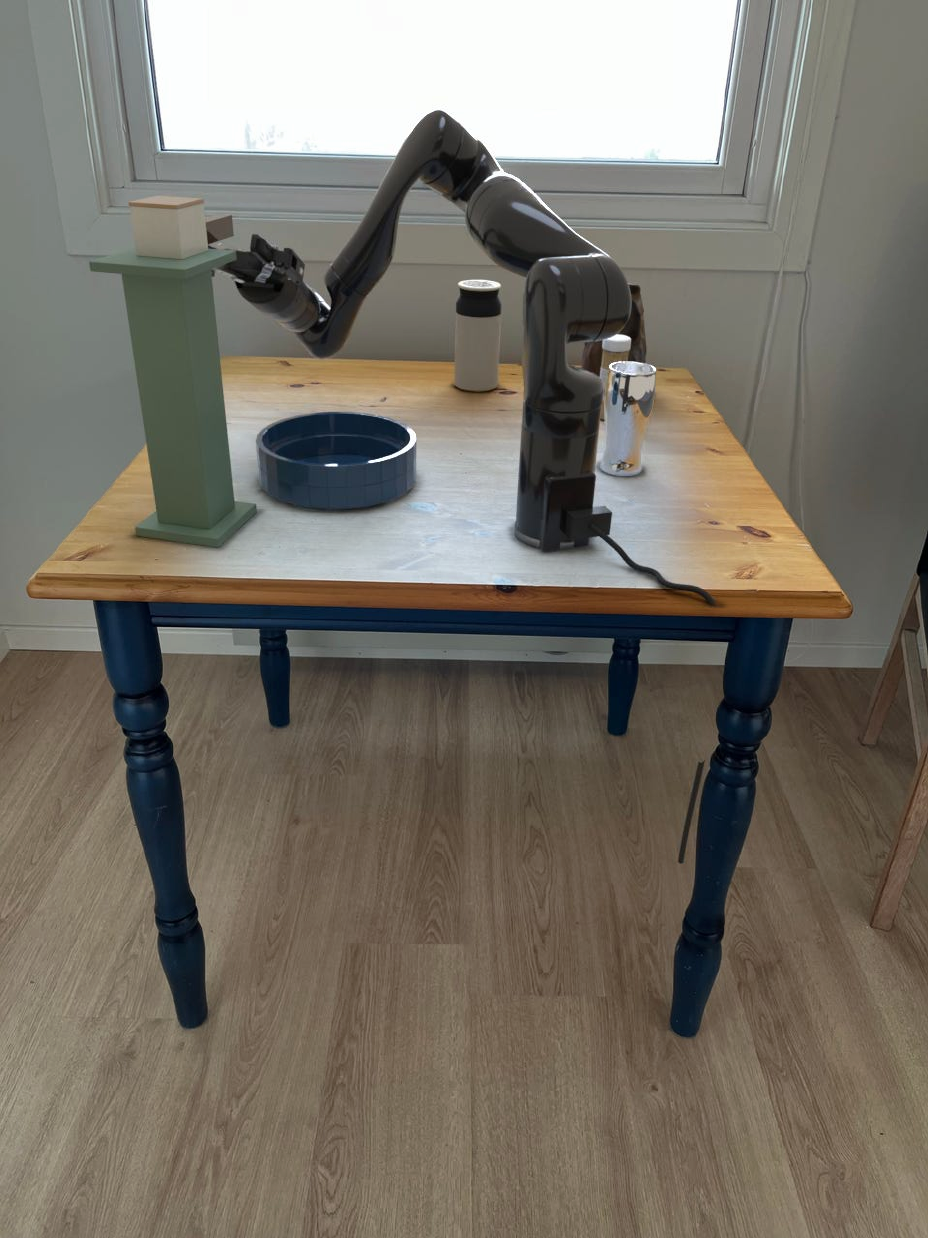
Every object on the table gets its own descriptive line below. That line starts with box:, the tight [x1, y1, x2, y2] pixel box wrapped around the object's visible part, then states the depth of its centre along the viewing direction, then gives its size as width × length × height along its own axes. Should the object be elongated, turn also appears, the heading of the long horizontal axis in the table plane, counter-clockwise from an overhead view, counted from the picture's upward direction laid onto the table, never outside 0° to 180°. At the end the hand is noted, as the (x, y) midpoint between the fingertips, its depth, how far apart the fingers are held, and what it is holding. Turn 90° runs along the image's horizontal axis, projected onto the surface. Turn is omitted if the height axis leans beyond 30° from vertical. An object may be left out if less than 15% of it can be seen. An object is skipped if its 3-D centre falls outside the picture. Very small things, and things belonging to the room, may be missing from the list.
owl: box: [580, 282, 648, 377], centre depth 167 cm, size 13×13×20 cm
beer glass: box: [599, 362, 657, 477], centre depth 136 cm, size 7×7×15 cm
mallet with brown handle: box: [128, 195, 235, 259], centre depth 108 cm, size 16×6×5 cm, turn 166°
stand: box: [88, 247, 258, 548], centre depth 111 cm, size 12×11×32 cm
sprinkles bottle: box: [600, 334, 631, 421], centre depth 157 cm, size 5×5×14 cm
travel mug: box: [453, 279, 503, 393], centre depth 169 cm, size 8×8×18 cm
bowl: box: [255, 411, 417, 511], centre depth 131 cm, size 22×22×6 cm
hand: (221, 239), depth 115 cm, fingers open, 8 cm apart
